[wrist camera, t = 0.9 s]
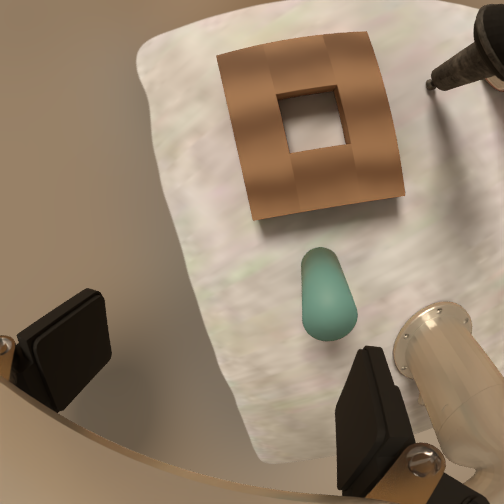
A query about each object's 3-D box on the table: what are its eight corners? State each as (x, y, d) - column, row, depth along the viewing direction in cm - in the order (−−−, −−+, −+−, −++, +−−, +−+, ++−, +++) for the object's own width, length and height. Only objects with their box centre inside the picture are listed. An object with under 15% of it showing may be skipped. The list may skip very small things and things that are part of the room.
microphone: (424, 49, 24) (517, -21, 5) (461, 94, 24) (576, 63, 6) (391, 78, 26) (485, 6, 7) (431, 125, 27) (554, 105, 8)
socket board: (396, 192, 30) (405, 195, 27) (256, 215, 33) (252, 220, 30) (361, 41, 25) (366, 31, 22) (222, 64, 28) (216, 55, 25)
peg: (340, 280, 34) (358, 336, 22) (304, 286, 35) (306, 344, 23) (336, 244, 33) (355, 288, 21) (298, 250, 33) (298, 297, 22)
